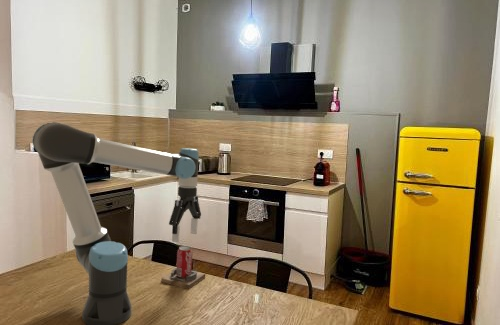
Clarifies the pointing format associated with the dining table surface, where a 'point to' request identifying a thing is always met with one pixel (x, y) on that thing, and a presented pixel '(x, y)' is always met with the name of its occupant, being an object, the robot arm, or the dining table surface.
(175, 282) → the socket board
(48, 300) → the dining table surface
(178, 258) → the beverage can
